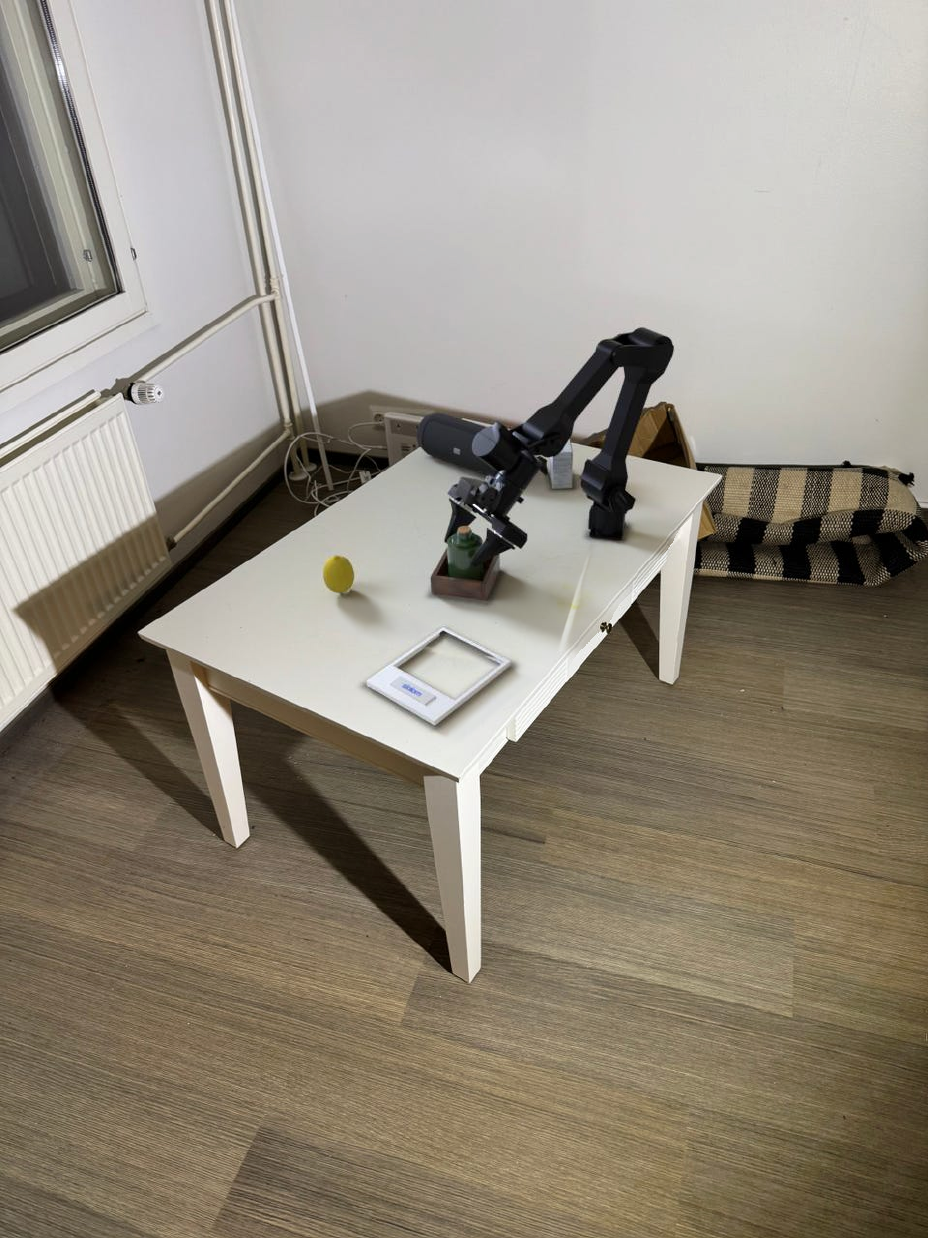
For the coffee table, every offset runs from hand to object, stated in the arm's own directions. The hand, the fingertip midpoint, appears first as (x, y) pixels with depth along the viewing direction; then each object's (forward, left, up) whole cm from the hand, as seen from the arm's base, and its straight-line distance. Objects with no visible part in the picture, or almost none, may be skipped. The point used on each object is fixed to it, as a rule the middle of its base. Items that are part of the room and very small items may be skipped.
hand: (459, 554), depth 156 cm
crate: (-1, -1, -7) cm, 7 cm away
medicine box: (-10, -44, -7) cm, 46 cm away
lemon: (+21, +7, -7) cm, 23 cm away
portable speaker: (+11, -47, -7) cm, 49 cm away
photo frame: (-4, +25, -7) cm, 27 cm away
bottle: (-1, -1, -6) cm, 6 cm away
